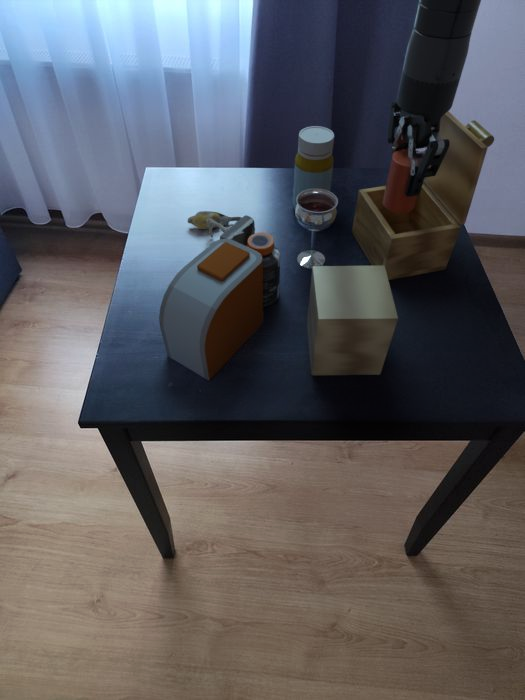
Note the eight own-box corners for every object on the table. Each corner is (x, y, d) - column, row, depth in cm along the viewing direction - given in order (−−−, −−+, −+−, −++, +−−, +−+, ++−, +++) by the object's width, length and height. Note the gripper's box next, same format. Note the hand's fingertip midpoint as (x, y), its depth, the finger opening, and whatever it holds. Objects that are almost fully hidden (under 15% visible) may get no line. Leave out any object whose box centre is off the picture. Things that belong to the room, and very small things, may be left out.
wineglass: (303, 276, 82) (307, 217, 73) (285, 252, 86) (288, 194, 77) (337, 265, 84) (346, 206, 74) (318, 243, 88) (325, 184, 78)
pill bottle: (284, 288, 80) (287, 233, 71) (270, 312, 77) (271, 257, 68) (253, 278, 82) (251, 223, 73) (237, 301, 78) (233, 246, 70)
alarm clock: (226, 297, 79) (220, 229, 68) (268, 318, 76) (268, 251, 65) (165, 354, 71) (147, 288, 61) (209, 381, 68) (199, 316, 58)
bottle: (334, 212, 94) (344, 137, 82) (305, 223, 91) (311, 148, 80) (314, 194, 97) (321, 121, 86) (285, 205, 95) (288, 131, 84)
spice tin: (418, 199, 79) (431, 153, 73) (409, 216, 76) (422, 170, 70) (387, 191, 80) (397, 145, 74) (378, 208, 77) (388, 161, 71)
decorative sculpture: (186, 227, 91) (181, 193, 85) (231, 211, 94) (228, 177, 88) (226, 276, 82) (223, 241, 76) (274, 257, 85) (274, 222, 79)
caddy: (381, 281, 81) (392, 238, 74) (351, 232, 90) (358, 189, 83) (445, 269, 83) (461, 226, 76) (410, 222, 91) (422, 179, 84)
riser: (369, 323, 75) (384, 265, 66) (380, 374, 69) (398, 318, 59) (306, 324, 75) (312, 265, 66) (311, 375, 69) (318, 319, 59)
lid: (482, 148, 65) (516, 140, 66) (434, 103, 74) (465, 97, 74) (460, 225, 76) (490, 217, 76) (420, 178, 84) (447, 171, 84)
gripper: (487, 88, 58) (446, 207, 72) (433, 45, 67) (405, 158, 80) (431, 95, 57) (400, 214, 70) (383, 51, 66) (363, 165, 79)
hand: (403, 184), depth 75 cm, fingers closed on spice tin, 5 cm apart
